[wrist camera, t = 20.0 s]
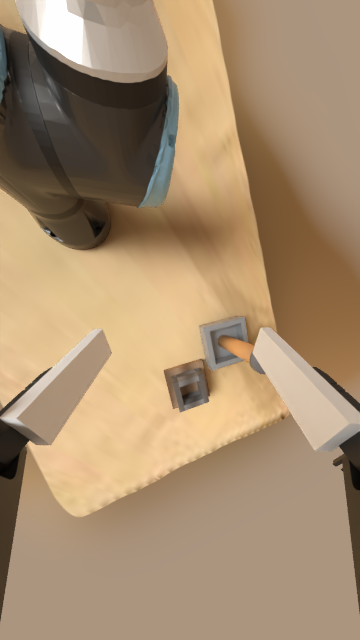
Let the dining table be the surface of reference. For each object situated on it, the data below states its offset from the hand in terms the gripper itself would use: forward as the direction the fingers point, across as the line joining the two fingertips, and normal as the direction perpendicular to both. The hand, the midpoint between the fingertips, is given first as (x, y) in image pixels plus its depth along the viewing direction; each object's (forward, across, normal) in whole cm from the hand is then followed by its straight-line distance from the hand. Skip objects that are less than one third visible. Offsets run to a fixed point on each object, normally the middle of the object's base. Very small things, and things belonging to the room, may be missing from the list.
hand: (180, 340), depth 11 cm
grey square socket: (+17, +1, -30) cm, 35 cm away
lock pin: (+24, +12, -19) cm, 33 cm away
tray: (+25, +12, -20) cm, 34 cm away
